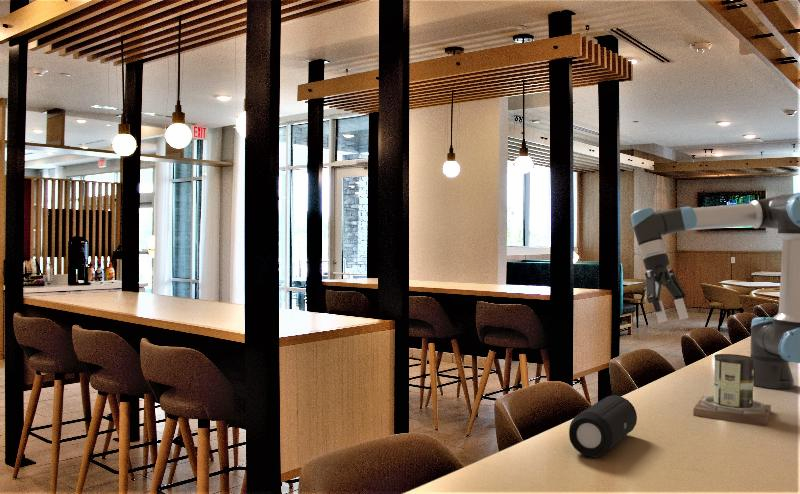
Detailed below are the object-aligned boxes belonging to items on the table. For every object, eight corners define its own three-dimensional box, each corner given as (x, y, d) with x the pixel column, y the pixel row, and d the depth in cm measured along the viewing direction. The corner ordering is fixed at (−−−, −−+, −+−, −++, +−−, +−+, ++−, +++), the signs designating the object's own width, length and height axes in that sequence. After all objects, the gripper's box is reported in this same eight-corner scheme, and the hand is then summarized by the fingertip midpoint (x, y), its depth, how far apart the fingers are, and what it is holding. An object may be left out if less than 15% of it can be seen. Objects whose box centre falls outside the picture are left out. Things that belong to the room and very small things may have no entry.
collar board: (702, 402, 207) (703, 392, 207) (770, 411, 198) (770, 400, 198) (693, 415, 192) (693, 403, 192) (766, 425, 183) (766, 413, 183)
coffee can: (747, 403, 199) (748, 354, 199) (757, 412, 189) (759, 360, 189) (708, 400, 201) (710, 352, 201) (717, 409, 191) (719, 358, 191)
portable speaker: (608, 464, 149) (610, 418, 149) (564, 455, 154) (565, 410, 154) (638, 436, 170) (640, 396, 170) (599, 429, 176) (600, 390, 176)
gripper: (663, 258, 232) (681, 320, 227) (623, 259, 215) (642, 326, 211) (683, 252, 226) (703, 315, 222) (644, 252, 210) (665, 320, 205)
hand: (673, 320), depth 216 cm, fingers open, 13 cm apart
